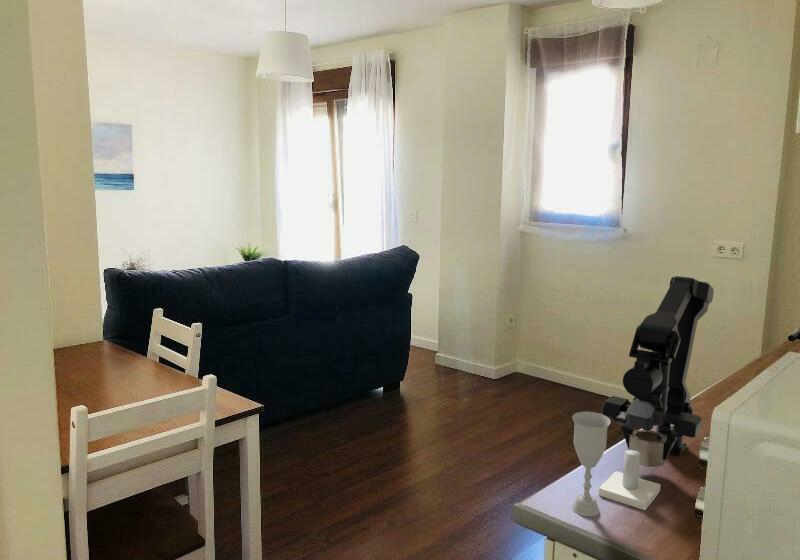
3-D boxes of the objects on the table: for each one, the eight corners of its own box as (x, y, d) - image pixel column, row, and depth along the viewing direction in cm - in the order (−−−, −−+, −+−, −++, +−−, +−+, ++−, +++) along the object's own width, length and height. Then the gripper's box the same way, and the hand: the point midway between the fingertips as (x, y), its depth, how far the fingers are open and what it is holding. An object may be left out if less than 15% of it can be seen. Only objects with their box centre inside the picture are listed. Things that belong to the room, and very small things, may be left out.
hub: (635, 448, 139) (637, 426, 138) (668, 457, 135) (670, 435, 134) (624, 460, 134) (626, 437, 133) (658, 469, 130) (660, 446, 129)
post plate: (615, 477, 134) (617, 439, 132) (659, 491, 128) (663, 451, 127) (598, 495, 127) (601, 454, 125) (645, 510, 121) (648, 468, 120)
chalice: (606, 521, 118) (613, 428, 114) (567, 517, 119) (573, 425, 116) (602, 501, 125) (608, 413, 121) (566, 497, 126) (571, 410, 123)
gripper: (593, 383, 131) (588, 455, 134) (691, 405, 120) (683, 483, 122) (613, 369, 139) (608, 437, 142) (706, 388, 128) (699, 461, 131)
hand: (647, 454), depth 134 cm, fingers closed on hub, 7 cm apart
